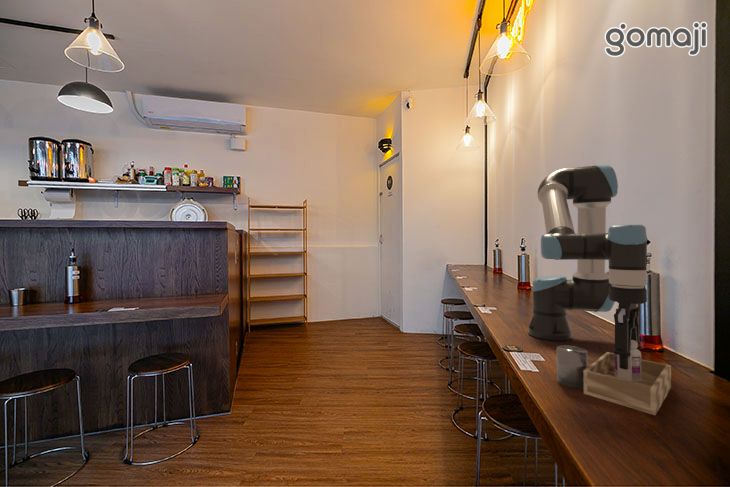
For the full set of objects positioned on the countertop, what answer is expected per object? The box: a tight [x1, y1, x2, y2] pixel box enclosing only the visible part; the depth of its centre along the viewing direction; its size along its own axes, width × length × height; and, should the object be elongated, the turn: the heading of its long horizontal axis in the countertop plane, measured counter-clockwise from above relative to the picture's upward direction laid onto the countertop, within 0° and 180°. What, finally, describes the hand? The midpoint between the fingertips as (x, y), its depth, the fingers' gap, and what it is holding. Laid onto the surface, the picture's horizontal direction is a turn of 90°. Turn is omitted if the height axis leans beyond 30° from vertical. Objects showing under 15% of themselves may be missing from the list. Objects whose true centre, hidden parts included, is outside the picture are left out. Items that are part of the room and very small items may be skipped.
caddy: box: [583, 351, 672, 416], centre depth 83 cm, size 20×14×6 cm
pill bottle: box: [614, 340, 642, 382], centre depth 83 cm, size 5×5×10 cm
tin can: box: [556, 344, 588, 389], centre depth 88 cm, size 7×7×9 cm
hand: (627, 377), depth 83 cm, fingers closed on pill bottle, 5 cm apart
